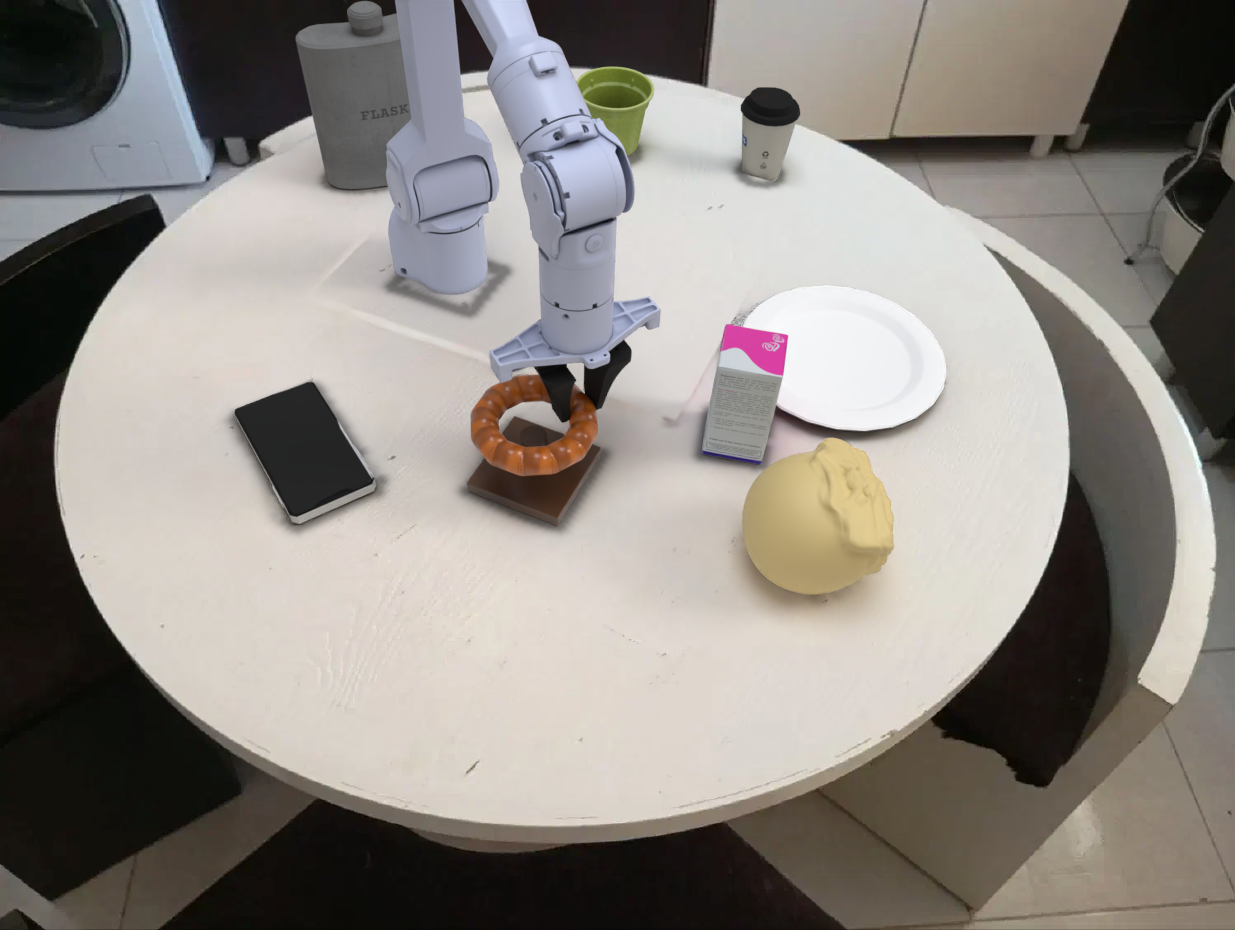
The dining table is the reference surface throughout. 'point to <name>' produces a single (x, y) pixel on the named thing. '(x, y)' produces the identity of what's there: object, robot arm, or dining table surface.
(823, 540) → the sculpture
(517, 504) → the stand
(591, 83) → the plant pot
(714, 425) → the supplement box
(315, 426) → the smartphone
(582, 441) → the ring
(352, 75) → the flask
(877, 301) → the plate
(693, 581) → the dining table surface
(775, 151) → the coffee cup
